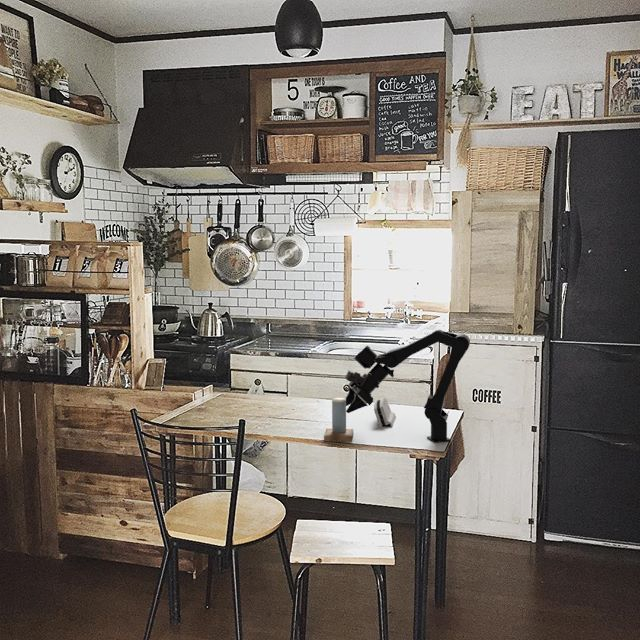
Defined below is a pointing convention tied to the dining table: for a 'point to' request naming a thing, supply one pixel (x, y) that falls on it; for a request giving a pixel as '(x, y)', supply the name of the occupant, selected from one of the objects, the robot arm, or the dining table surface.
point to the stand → (338, 436)
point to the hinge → (384, 413)
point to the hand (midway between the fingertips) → (344, 409)
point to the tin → (339, 415)
